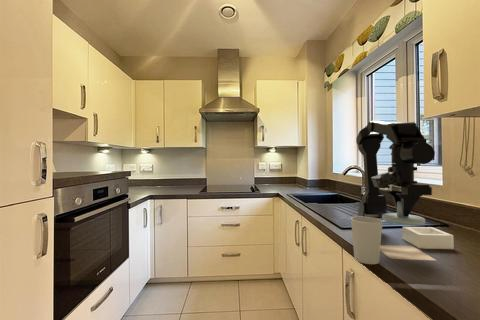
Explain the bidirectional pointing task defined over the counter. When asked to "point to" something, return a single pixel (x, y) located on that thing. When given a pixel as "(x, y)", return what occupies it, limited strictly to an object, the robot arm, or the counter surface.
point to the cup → (366, 239)
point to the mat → (404, 253)
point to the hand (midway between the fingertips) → (402, 215)
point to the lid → (403, 217)
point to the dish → (428, 238)
